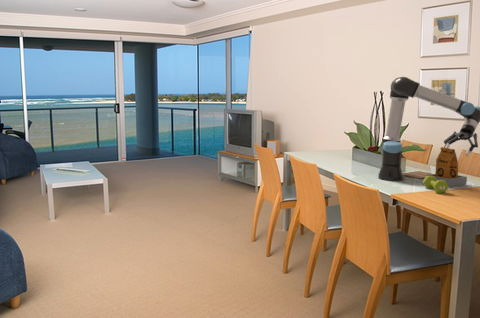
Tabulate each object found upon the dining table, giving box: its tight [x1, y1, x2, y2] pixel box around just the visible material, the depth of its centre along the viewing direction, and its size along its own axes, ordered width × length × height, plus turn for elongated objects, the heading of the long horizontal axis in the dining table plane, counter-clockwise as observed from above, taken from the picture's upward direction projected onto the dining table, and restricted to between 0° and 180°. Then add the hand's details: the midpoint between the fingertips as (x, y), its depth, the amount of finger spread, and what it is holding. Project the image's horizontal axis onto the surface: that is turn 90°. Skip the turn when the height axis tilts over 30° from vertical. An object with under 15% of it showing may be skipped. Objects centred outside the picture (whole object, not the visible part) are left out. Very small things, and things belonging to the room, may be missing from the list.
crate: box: [427, 173, 468, 189], centre depth 267 cm, size 17×15×5 cm
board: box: [402, 170, 433, 180], centre depth 292 cm, size 20×18×1 cm
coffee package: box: [434, 146, 459, 179], centre depth 266 cm, size 10×12×22 cm
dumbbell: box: [422, 176, 449, 194], centre depth 249 cm, size 16×8×7 cm, turn 1°
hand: (455, 153), depth 268 cm, fingers open, 13 cm apart
